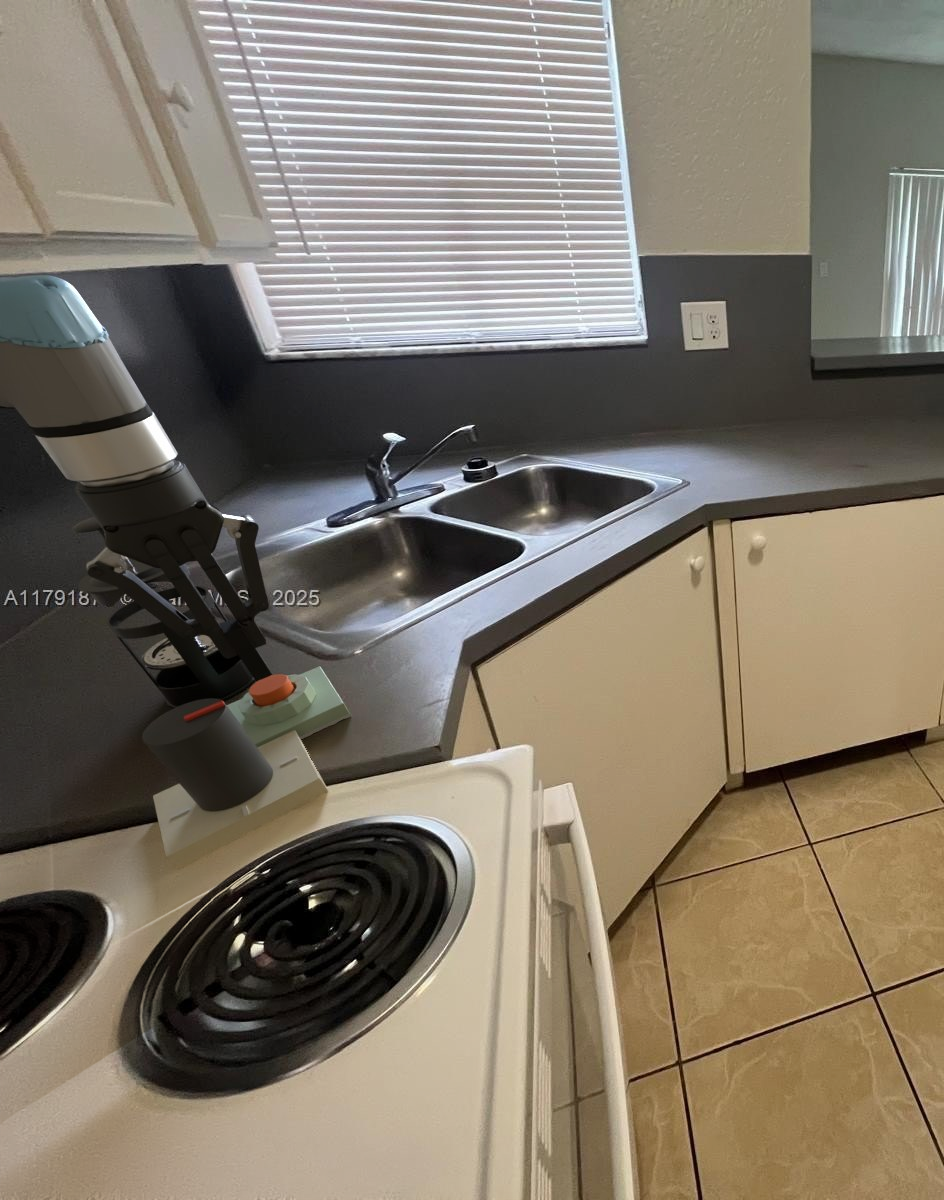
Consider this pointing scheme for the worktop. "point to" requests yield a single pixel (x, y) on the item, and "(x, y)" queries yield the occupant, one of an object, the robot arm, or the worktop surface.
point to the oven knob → (209, 754)
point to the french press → (170, 640)
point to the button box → (291, 709)
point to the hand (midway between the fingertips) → (261, 672)
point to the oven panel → (207, 831)
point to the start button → (271, 690)
